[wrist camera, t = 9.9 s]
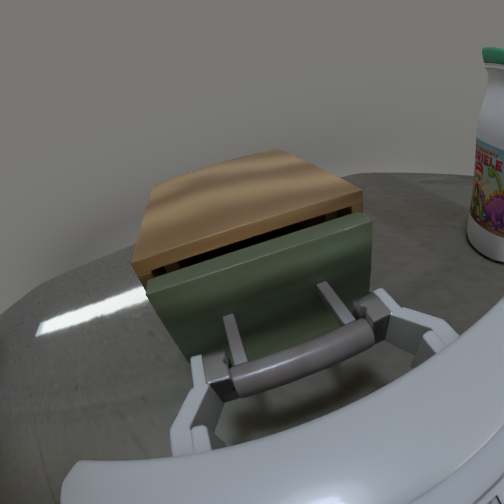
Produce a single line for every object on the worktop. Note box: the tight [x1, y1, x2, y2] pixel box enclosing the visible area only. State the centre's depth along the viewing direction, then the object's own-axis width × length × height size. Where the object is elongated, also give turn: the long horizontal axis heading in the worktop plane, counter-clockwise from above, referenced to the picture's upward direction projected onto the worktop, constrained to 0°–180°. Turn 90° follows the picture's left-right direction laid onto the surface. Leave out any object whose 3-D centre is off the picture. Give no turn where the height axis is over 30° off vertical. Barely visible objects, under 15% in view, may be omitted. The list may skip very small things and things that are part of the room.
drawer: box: [146, 211, 375, 398], centre depth 18 cm, size 18×11×8 cm, turn 15°
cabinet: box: [131, 148, 363, 290], centre depth 22 cm, size 15×13×10 cm
